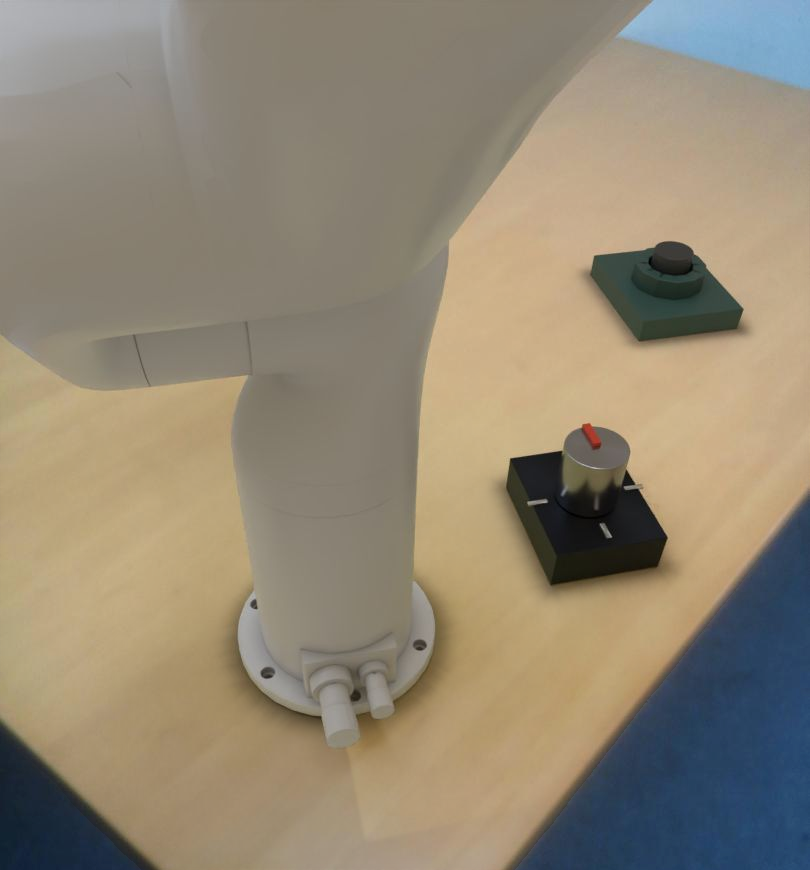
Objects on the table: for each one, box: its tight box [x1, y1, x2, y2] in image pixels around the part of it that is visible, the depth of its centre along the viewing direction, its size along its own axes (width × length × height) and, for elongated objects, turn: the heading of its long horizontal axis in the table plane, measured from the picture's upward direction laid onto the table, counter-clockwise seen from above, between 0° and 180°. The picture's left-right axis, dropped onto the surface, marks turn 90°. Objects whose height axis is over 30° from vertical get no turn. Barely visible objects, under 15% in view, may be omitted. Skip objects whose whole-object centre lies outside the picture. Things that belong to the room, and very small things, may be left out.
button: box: [651, 240, 695, 276], centre depth 82 cm, size 4×4×2 cm
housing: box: [590, 246, 744, 342], centre depth 83 cm, size 12×10×4 cm
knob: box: [555, 422, 631, 517], centre depth 60 cm, size 4×4×5 cm
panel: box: [505, 450, 669, 586], centre depth 63 cm, size 10×9×3 cm
